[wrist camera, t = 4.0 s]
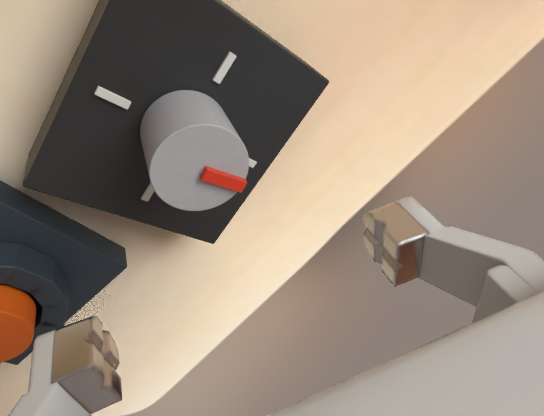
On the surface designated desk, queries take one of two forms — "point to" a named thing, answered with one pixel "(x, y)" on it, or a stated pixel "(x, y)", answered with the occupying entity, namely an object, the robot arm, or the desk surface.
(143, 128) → the timer dial
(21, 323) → the power button
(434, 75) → the desk surface
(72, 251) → the button block
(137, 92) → the dial panel
